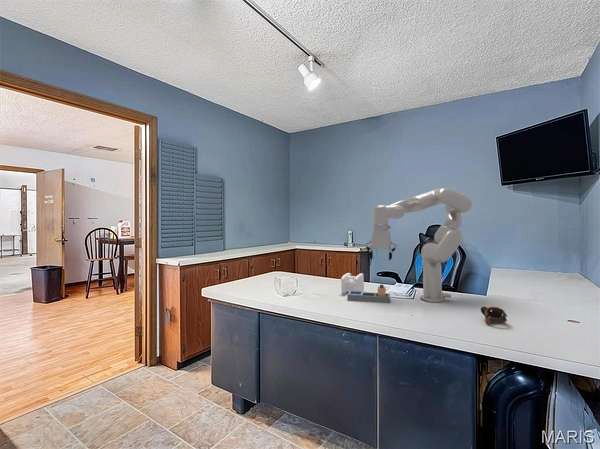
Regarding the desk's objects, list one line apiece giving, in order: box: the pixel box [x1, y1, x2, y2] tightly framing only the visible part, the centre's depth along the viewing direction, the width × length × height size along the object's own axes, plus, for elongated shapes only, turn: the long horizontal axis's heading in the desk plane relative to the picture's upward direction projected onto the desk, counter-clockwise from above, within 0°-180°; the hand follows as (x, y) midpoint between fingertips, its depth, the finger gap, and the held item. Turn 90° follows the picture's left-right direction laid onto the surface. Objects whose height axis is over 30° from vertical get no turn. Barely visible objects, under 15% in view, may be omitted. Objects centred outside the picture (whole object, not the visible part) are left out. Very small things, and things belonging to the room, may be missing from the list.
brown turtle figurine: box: [480, 306, 508, 326], centre depth 137 cm, size 12×10×8 cm
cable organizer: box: [340, 272, 365, 295], centre depth 193 cm, size 15×11×12 cm
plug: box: [377, 284, 387, 297], centre depth 170 cm, size 4×4×8 cm
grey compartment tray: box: [346, 290, 391, 304], centre depth 173 cm, size 22×8×5 cm, turn 73°
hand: (380, 259), depth 171 cm, fingers open, 9 cm apart
